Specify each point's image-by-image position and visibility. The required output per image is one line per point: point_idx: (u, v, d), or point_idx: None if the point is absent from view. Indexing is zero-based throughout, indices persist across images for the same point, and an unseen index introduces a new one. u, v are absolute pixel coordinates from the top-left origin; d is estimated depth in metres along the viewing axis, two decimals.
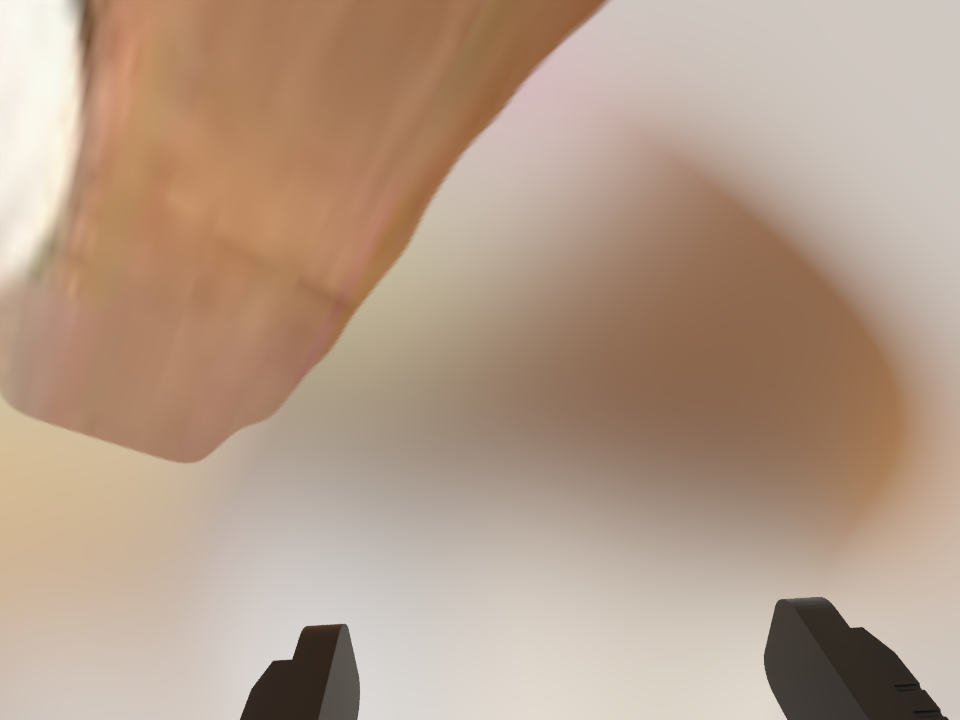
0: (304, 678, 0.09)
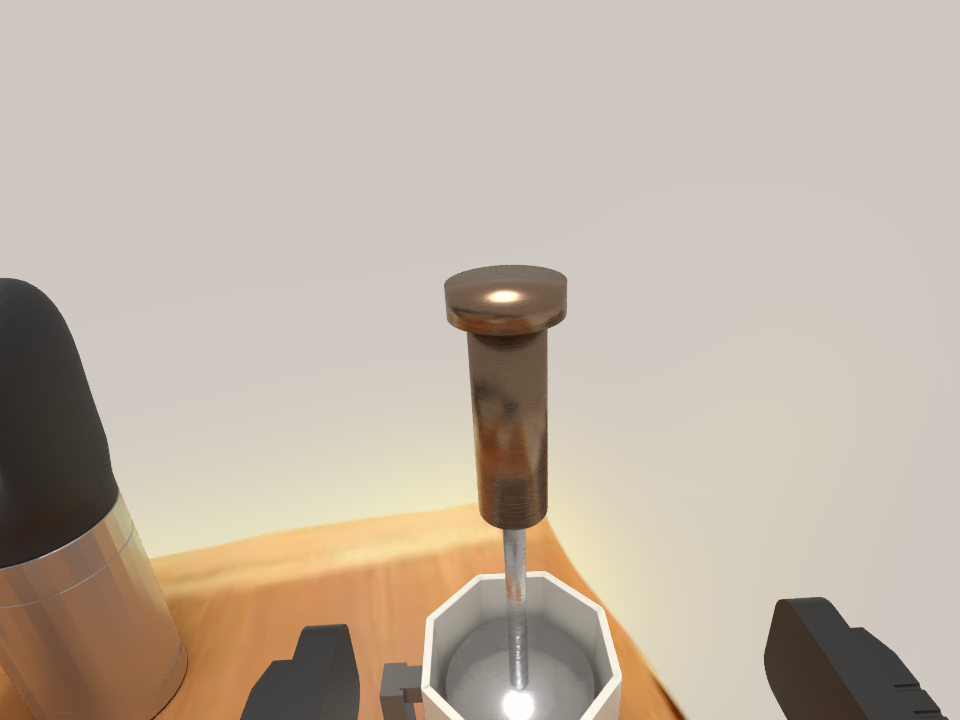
0: (304, 678, 0.09)
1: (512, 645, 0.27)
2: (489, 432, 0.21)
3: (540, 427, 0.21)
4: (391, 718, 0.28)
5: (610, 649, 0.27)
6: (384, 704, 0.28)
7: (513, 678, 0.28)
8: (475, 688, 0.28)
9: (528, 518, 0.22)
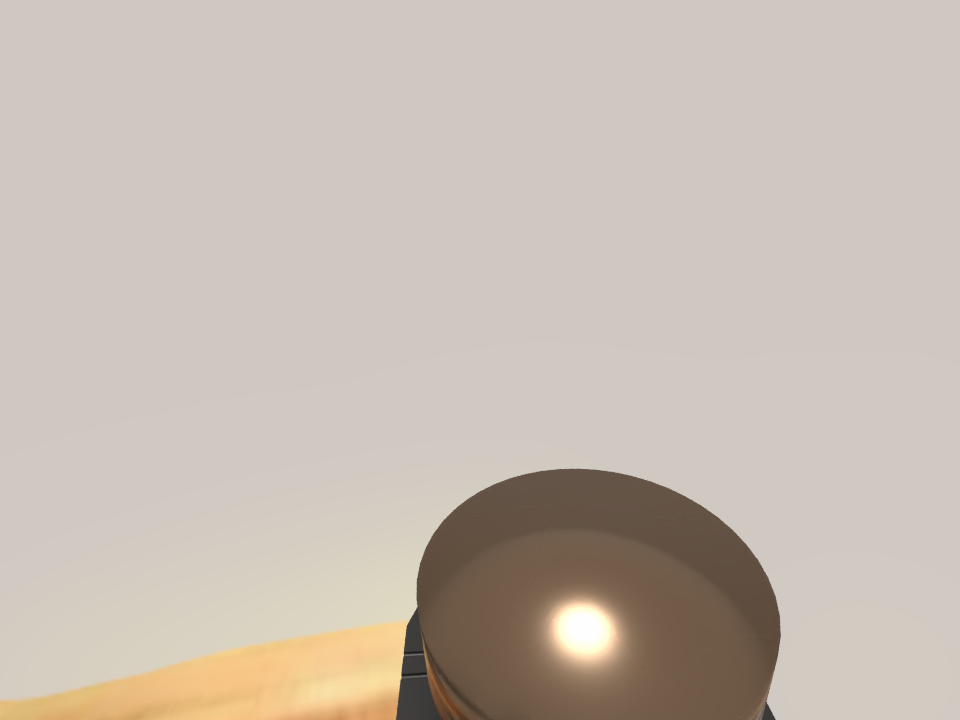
0: None
1: None
2: None
3: None
4: None
5: None
6: None
7: None
8: None
9: None
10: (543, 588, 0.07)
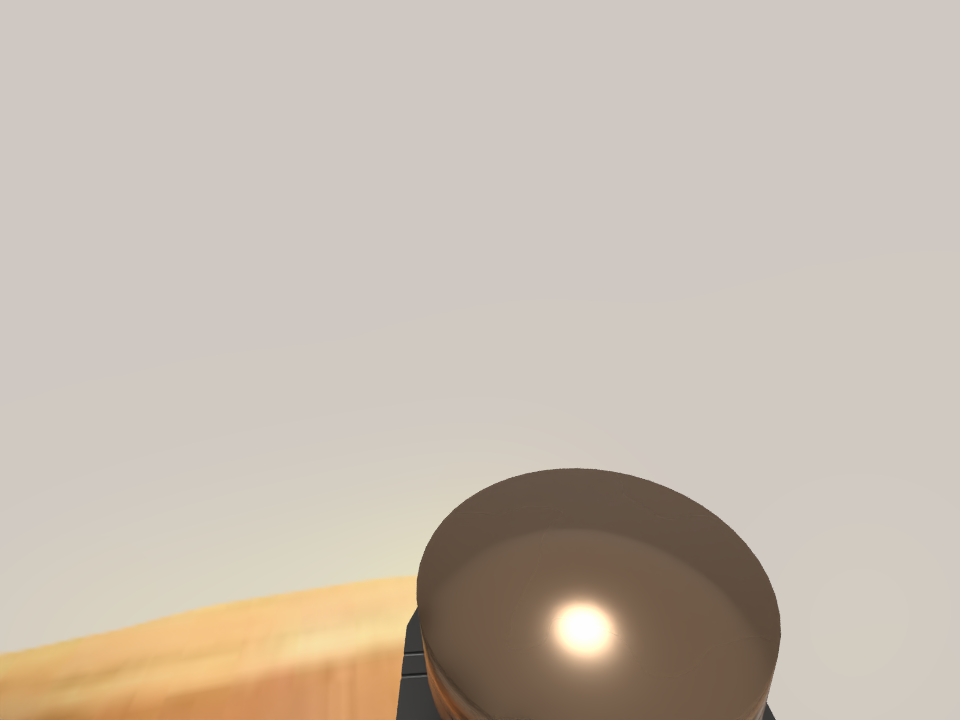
0: None
1: None
2: None
3: None
4: None
5: None
6: None
7: None
8: None
9: None
10: (543, 588, 0.07)
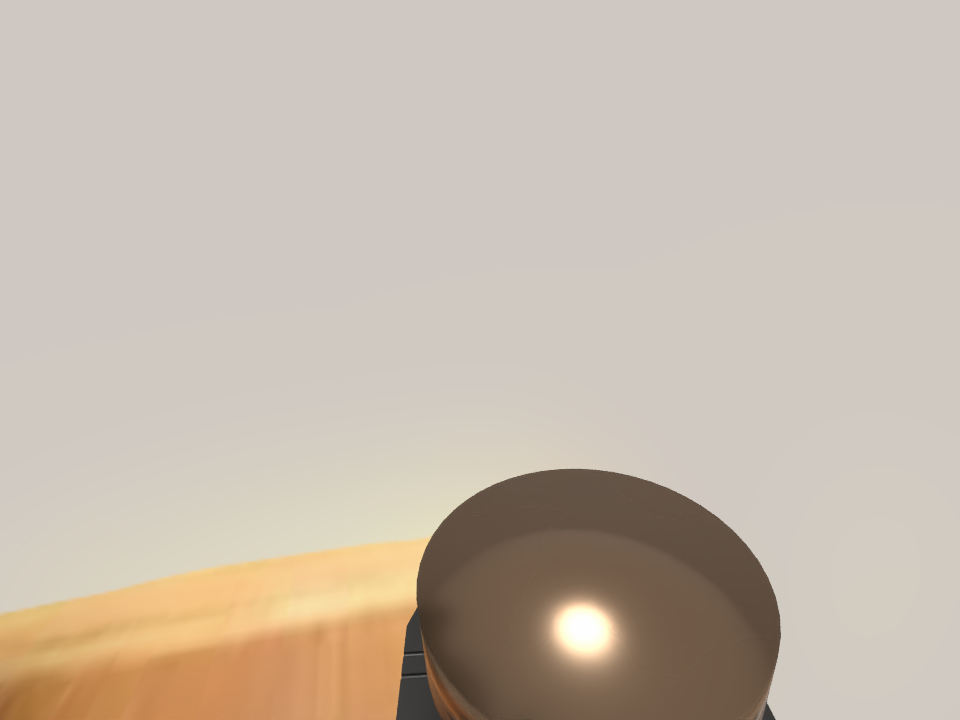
0: None
1: None
2: None
3: None
4: None
5: None
6: None
7: None
8: None
9: None
10: (543, 588, 0.07)
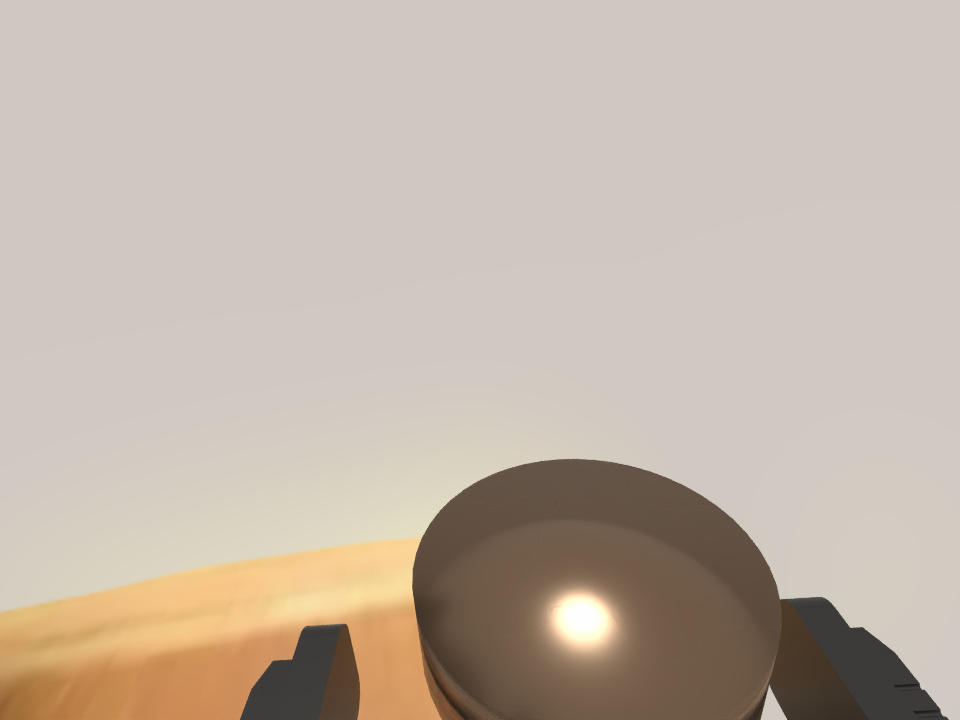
0: (304, 678, 0.09)
1: None
2: None
3: None
4: None
5: None
6: None
7: None
8: None
9: None
10: (541, 577, 0.07)
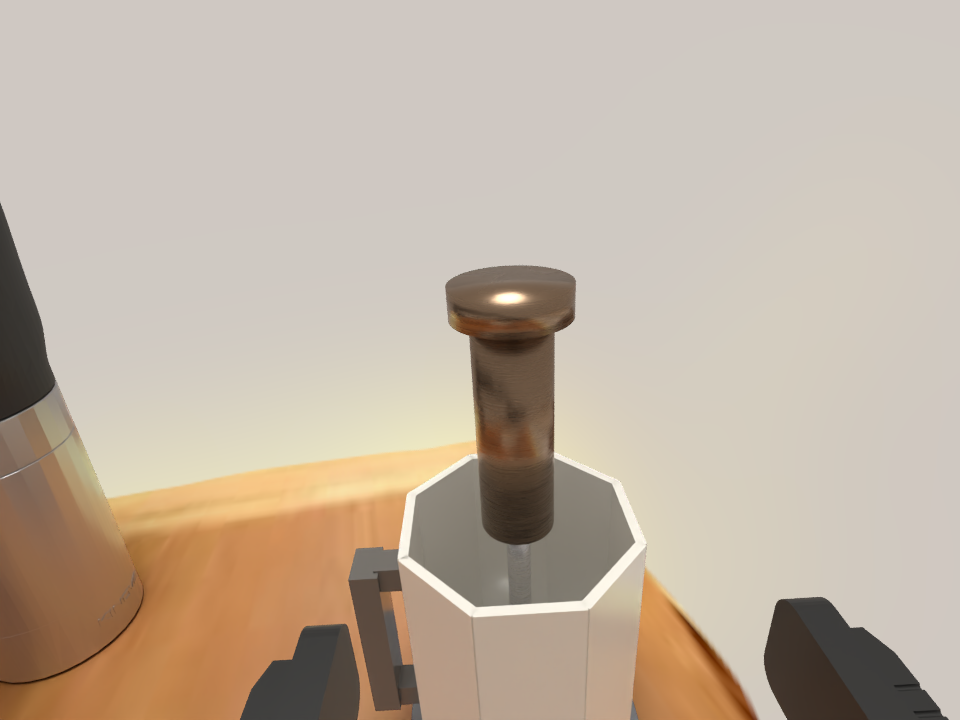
0: (304, 678, 0.09)
1: None
2: (493, 442, 0.20)
3: (547, 436, 0.20)
4: (363, 611, 0.23)
5: (630, 518, 0.22)
6: (354, 591, 0.23)
7: None
8: None
9: (533, 532, 0.21)
10: (492, 285, 0.18)
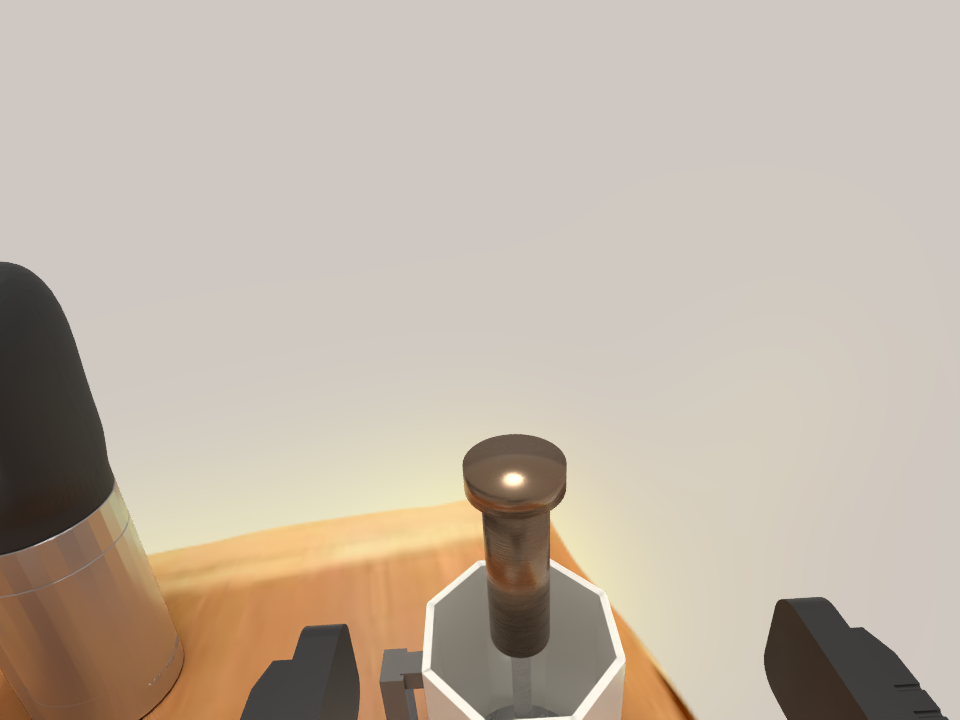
0: (304, 678, 0.09)
1: None
2: (500, 582, 0.24)
3: (544, 576, 0.24)
4: (391, 705, 0.28)
5: (613, 632, 0.27)
6: (384, 690, 0.27)
7: None
8: None
9: (533, 648, 0.26)
10: (500, 466, 0.23)
